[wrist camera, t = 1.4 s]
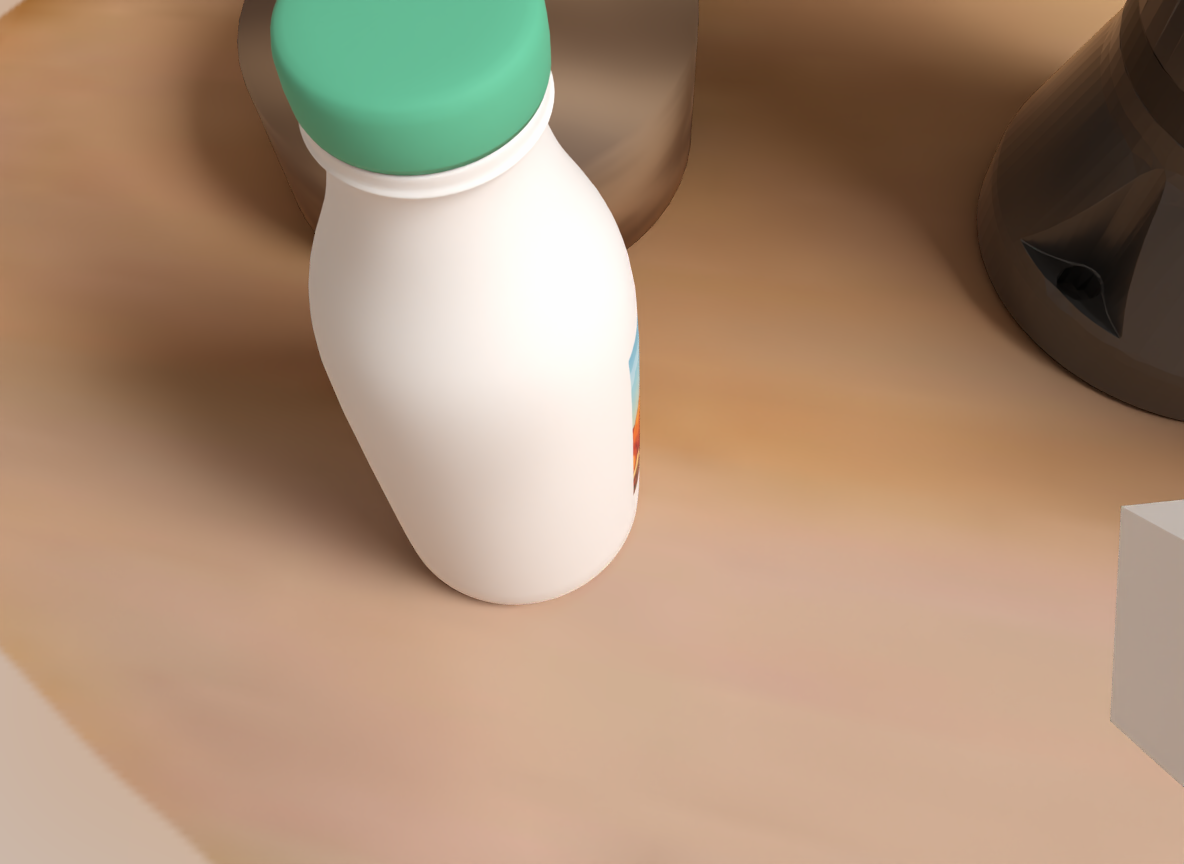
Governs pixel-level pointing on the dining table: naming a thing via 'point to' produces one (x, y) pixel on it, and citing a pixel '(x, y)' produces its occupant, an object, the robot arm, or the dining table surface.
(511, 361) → the milk bottle
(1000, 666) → the dining table surface
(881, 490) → the dining table surface
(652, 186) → the walnut stand
